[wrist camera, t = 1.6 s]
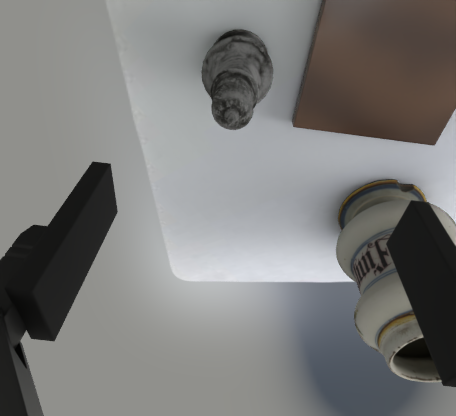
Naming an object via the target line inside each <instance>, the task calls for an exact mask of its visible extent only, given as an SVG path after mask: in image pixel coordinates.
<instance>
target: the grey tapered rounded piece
mask: <svg viewBox="0 0 456 416" xmlns="http://www.w3.org/2000/svg"><path fill="white" fill-rule="evenodd" d="M272 80H273V67H272V62H271V59H270V57H269V55H268V53H267V49H266V47H265V45H264V43H263V41H262V40H261V39H260V38H259V37H258V36H257V35H255V34H253V33H252V32H250V31H246V30H233V31H229V32H227V33H225V34H224V35H222V36H221V37H220V38H219V39H218V40H217V41H216V42H215V44H214V45H213V47H212V48H211V49H210V50H209V51H208V53H207V55H206V57H205V59H204V61H203V66H202V81H203V84H204V87H205V89H206V91H207V93H208V94H209V95H210V97H211V99H212V114H213V117H214V119H215V120H216V122H217V123H218V124H219V125H220V126H222V127H224V128H226V129H230V130H237V129H241V128H242V127H244V126H246V125H247V124H248V123H249V121H250V119H251V118H252V115H253V108H254V107H255V106H256V104H257V103H259V102H260V101H261V100H262V99H263V98H264V97H265V96H266V94H267V93H268V91H269V89H270V87H271V84H272Z"/></svg>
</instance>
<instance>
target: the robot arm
mask: <svg viewBox="0 0 456 416" xmlns="http://www.w3.org/2000/svg"><path fill="white" fill-rule="evenodd" d="M116 214H117V205H116V198H115V192H114V184H113V177H112V171H111V164H108V163H100V162H92V164H91V165H90V166H89V168H88V169H87V171H86V172H85V174H84V175H83V176H82V178H81V179H80V181H79V182H78V183H77V185H76V186H75V188H74V189H73V191H72V192H71V194H70V195H69V196H68V198H67V199H66V201H65V202H64V204H63V205H62V206H61V208H60V209H59V211H58V212H57V213H56V215H55V216H54V218H53V219H52V221H51V222H50V224H49V225H48V226H40V225H33V226H31V227H30V228H28V229H27V230H26V231H24V232H23V233H21V234H20V235H19V237H18V238H17V239H16V241H15V242H14V243H13V245H12V247H10V248H9V250H8V251H7V252H6V253H5V256H4V257H2V259H1V260H0V416H44V415H43V412H42V409H41V405H40V402H39V398H38V396H37V392H36V389H35V385H34V382H33V379H32V375H31V372H30V369H29V365H28V362H27V359H26V355H25V352H24V349H23V346H22V343H21V342H20V340H21V338H22V337H23V335H24V333H25V331H26V330H27V332H28V333H29V335H30V337H31V339H38V340H47V341H55V339H56V337H57V335H58V333H59V331H60V329H61V327H62V325H63V323H64V321H65V318H66V316H67V314H68V312H69V310H70V308H71V306H72V304H73V302H74V300H75V298H76V296H77V294H78V292H79V290H80V288H81V286H82V284H83V282H84V280H85V277H86V276H87V273H88V271H89V269H90V267H91V265H92V263H93V261H94V259H95V257H96V255H97V253H98V251H99V249H100V247H101V245H102V243H103V241H104V239H105V237H106V235H107V232H108V231H109V228H110V226H111V224H112V222H113V220H114V218H115V216H116ZM386 245H387V248H388V250H389V253H390V255H391V258H392V260H393V263H394V265H395V268H396V270H397V273H398V275H399V278H400V280H401V282H402V285H403V287H404V290H405V292H406V295H407V297H408V300H409V302H410V305H411V307H412V310H413V312H414V315H415V317H416V320H417V322H418V324H419V327H420V329H421V332H422V334H423V337H424V339H425V342H426V344H427V347H428V349H429V352H430V354H431V357H432V359H433V362H434V364H435V367H436V369H437V371H438V374H439V376H440V379H441V381H442V384H443V386H451V387H456V246H455V244H454V242H453V241H452V239H451V238H450V236H449V234H448V233H447V231H446V230H445V228H444V226H443V225H442V223H441V222H440V220H439V218H438V217H437V215H436V213H435V212H434V210H433V209H432V207H431V205H430V204H429V202H423V201H415V200H411V201H410V203H409V205H408V206H407V208H406V210H405V212H404V213H403V215H402V217H401V219H400V220H399V222H398V224H397V225H396V227H395V229H394V231H393V232H392V234H391V236H390V238H389V239H388V241H387V243H386Z"/></svg>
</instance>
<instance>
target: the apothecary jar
mask: <svg viewBox="0 0 456 416" xmlns="http://www.w3.org/2000/svg"><path fill="white" fill-rule="evenodd" d="M411 200H415V201H423V202H426V198H425V196H424V194H423V193H422V191H421V190H420V189H419V188H417V187H416V186H415V185H402V184H399V182H398V181H397V180H382V181H376V182H373V183H370V184H367V185H365V186H363V187H361V188H359V189H357V190H356V191H354V192H353V193H352V194H351V195H349V196H348V197H347V199H346V200H345V201H344V202H343V204H342V206H341V208H340V211H339V215H338V222H339V225H340V227H341V229H342V232H341V233H340V235H339V238H338V241H337V246H336V256H337V260H338V263H339V265H340V267H341V268H342V270H343V271H344V272H345V274H346V275H347V276H349V277H350V278H351V279H352V280H354V281H355V282H357V285H358V288H359V291H360V294H361V297H360V299H359V301H358V303H357V305H356V308H355V312H354V319H355V326H356V329H357V331H358V333H359V335H360V336H361V337H362V339H363V340H364V341H365V342H366V343H367V344H368V345H369V346H370V347H371V348H373V349H374V350H376V351H377V352H380V353H382V354H383V355H384V356H385V359H386V362H387V364H388V367H389V368H390V369H391V371H392V372H394V373H395V374H397V375H398V376H400V377H402V378H405V379H408V380H413V381H419V382H442V381H441V379H440V376H439V374H438V371H437V369H436V367H435V364H434V362H433V359H432V357H431V354H430V352H429V349H428V347H427V344H426V342H425V339H424V337H423V334H422V332H421V329H420V327H419V324H418V322H417V320H416V317H415V315H414V312H413V310H412V307H411V305H410V302H409V300H408V297H407V295H406V292H405V290H404V287H403V285H402V282H401V280H400V278H399V275H398V273H397V270H396V268H395V265H394V263H393V260H392V258H391V255H390V253H389V250H388V248H387V245H386V243H387V241H388V239H389V238H390V236H391V234H392V232H393V231H394V229H395V227H396V225H397V224H398V222H399V220H400V219H401V217H402V215H403V213H404V212H405V210H406V208H407V206H408V205H409V203H410V201H411ZM429 204H430V203H429ZM430 205H431V207H432V209H433V210H434V212H435V213H436V215H437V217H438V218H439V220H440V222H441V223H442V225H443V226H444V228H445V230H446V231H447V233H448V234H449V236H450V238H451V239H452V241H453V242H454V244H455V246H456V224H455V222H454V221H453V219H452V218H451V217H450V216H449V215H448V214H447V213H446V212H445V211H443V210H442V209H440V208H439V207H437V206H435V205H433V204H430Z"/></svg>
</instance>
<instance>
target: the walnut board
mask: <svg viewBox="0 0 456 416" xmlns="http://www.w3.org/2000/svg"><path fill="white" fill-rule="evenodd" d="M455 109H456V0H323V1H322V5H321V9H320V13H319V17H318V21H317V25H316V29H315V33H314V37H313V41H312V45H311V49H310V53H309V57H308V61H307V65H306V69H305V73H304V77H303V81H302V85H301V89H300V93H299V97H298V101H297V105H296V109H295V113H294V117H293V121H292V122H293V127H298V128H306V129H313V130H321V131H328V132H336V133H344V134H351V135H359V136H366V137H374V138H381V139H389V140H397V141H404V142H412V143H419V144H427V145H435V144H436V142H437V140H438V138H439V137H440V135H441V133H442V131H443V130H444V128H445V126H446V124H447V123H448V121H449V119H450V117H451V116H452V114H453V112H454V110H455Z"/></svg>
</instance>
